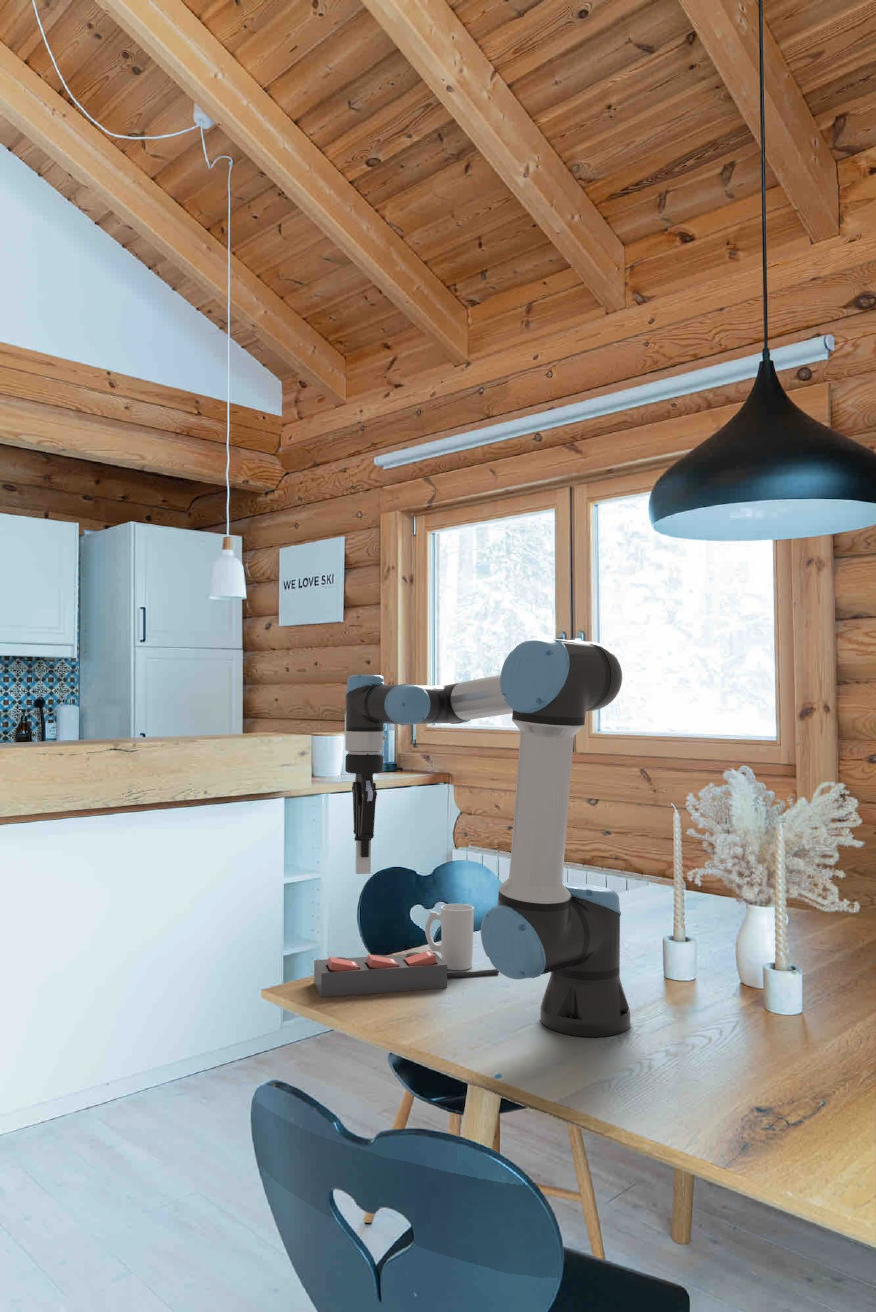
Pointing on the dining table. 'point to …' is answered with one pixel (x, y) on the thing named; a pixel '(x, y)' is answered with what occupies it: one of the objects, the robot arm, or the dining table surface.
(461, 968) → the mug
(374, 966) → the rocker
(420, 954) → the rocker
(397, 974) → the switch panel
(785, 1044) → the dining table surface
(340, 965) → the rocker
